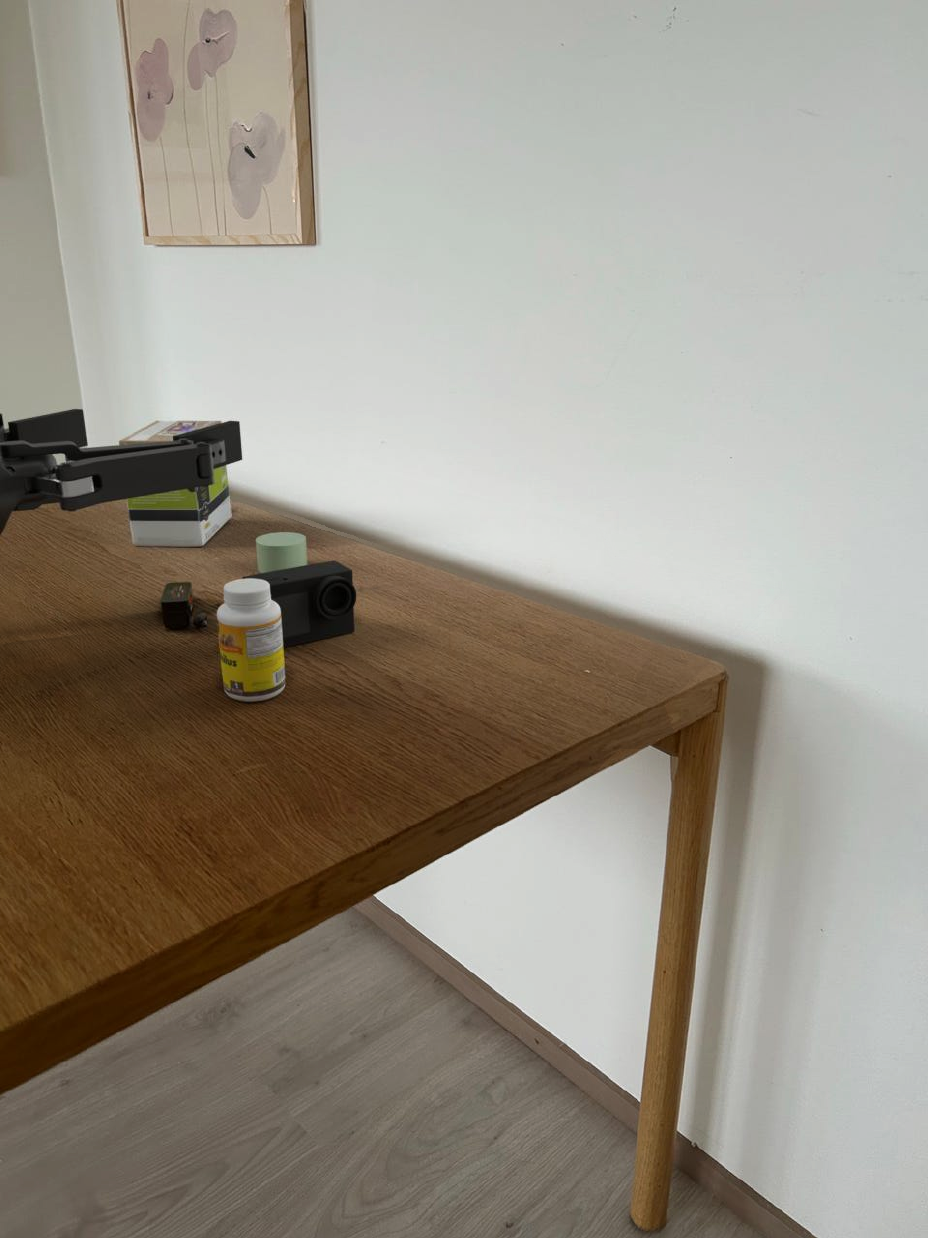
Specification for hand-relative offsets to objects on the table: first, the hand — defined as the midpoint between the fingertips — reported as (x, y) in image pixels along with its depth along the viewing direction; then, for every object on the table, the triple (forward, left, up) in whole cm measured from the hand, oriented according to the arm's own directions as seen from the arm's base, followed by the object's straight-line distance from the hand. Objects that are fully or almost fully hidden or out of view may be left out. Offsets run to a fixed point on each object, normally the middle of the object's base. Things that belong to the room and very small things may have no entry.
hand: (156, 433), depth 69 cm
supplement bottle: (-7, +7, -25) cm, 27 cm away
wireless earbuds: (-27, +3, -25) cm, 37 cm away
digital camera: (-18, +14, -25) cm, 34 cm away
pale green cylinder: (-38, +16, -25) cm, 48 cm away
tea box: (-63, +7, -25) cm, 68 cm away
